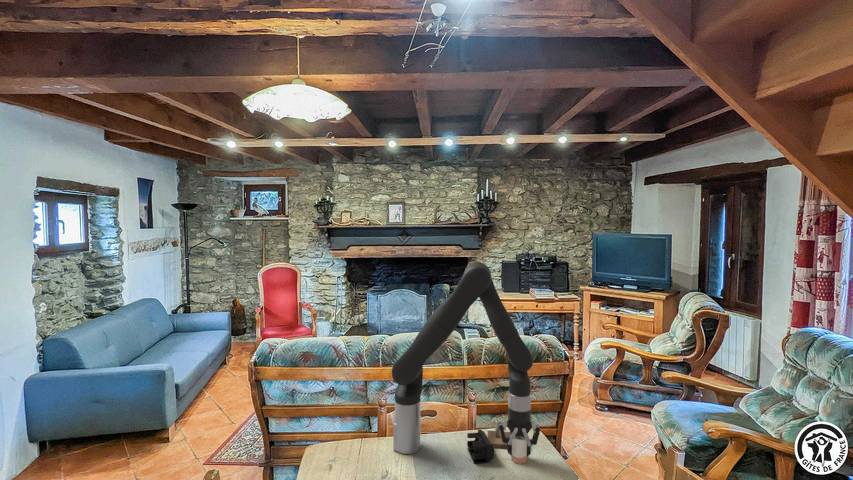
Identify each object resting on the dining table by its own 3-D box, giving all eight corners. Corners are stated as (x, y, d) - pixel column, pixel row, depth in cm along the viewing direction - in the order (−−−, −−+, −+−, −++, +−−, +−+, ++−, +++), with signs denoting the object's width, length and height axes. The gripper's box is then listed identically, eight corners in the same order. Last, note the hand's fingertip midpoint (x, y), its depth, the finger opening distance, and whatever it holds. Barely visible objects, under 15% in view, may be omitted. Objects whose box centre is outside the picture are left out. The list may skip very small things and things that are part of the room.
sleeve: (512, 463, 132) (512, 439, 131) (510, 454, 137) (510, 431, 136) (527, 464, 131) (527, 440, 131) (525, 455, 136) (525, 432, 136)
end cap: (495, 463, 132) (495, 443, 131) (474, 465, 131) (474, 445, 130) (485, 447, 142) (486, 428, 141) (466, 448, 140) (467, 430, 140)
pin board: (488, 447, 141) (488, 427, 141) (487, 434, 150) (487, 415, 150) (528, 450, 139) (528, 430, 139) (524, 436, 148) (525, 417, 148)
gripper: (498, 409, 130) (498, 459, 131) (543, 412, 129) (542, 462, 129) (497, 399, 138) (497, 447, 138) (539, 402, 136) (538, 450, 137)
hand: (518, 454), depth 134 cm, fingers closed on sleeve, 5 cm apart
